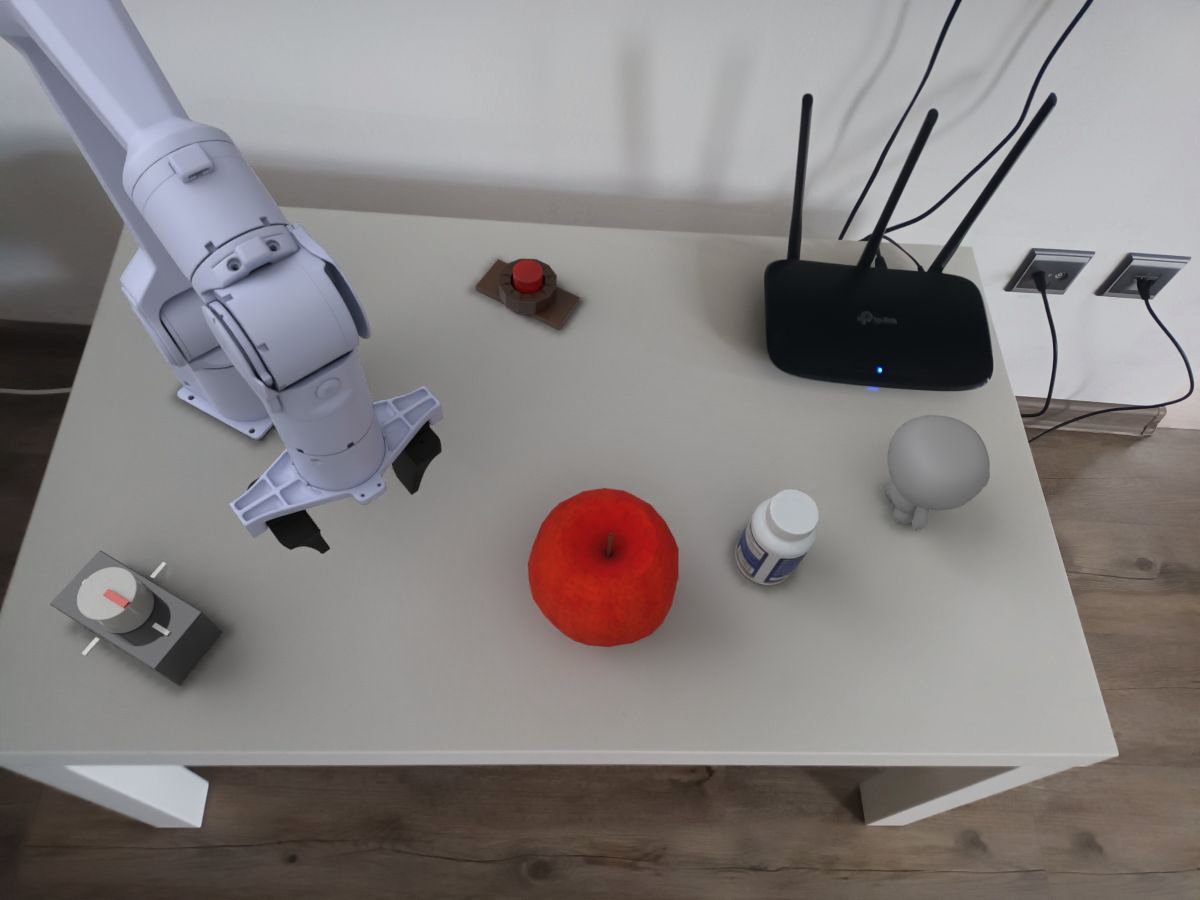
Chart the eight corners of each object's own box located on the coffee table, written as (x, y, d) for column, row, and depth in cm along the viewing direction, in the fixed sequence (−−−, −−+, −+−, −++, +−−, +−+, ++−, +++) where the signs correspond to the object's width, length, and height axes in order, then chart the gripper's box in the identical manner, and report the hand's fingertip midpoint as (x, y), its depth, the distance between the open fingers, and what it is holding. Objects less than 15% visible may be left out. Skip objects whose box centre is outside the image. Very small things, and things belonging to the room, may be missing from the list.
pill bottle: (799, 541, 73) (834, 493, 65) (786, 595, 71) (821, 552, 62) (741, 522, 74) (769, 471, 66) (727, 574, 71) (753, 528, 63)
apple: (681, 655, 67) (713, 601, 56) (542, 685, 65) (546, 635, 54) (645, 527, 73) (668, 454, 61) (516, 551, 71) (514, 480, 59)
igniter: (471, 295, 85) (470, 278, 83) (501, 259, 87) (501, 242, 85) (555, 335, 83) (556, 319, 81) (583, 297, 86) (584, 281, 84)
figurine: (947, 544, 75) (1016, 483, 64) (869, 550, 74) (926, 490, 63) (920, 467, 78) (980, 398, 68) (845, 472, 78) (895, 404, 67)
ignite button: (507, 286, 83) (507, 274, 81) (522, 267, 84) (522, 255, 83) (532, 298, 82) (533, 286, 81) (547, 279, 84) (548, 267, 82)
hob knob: (84, 617, 60) (61, 601, 57) (125, 573, 62) (104, 555, 59) (126, 643, 60) (105, 628, 57) (166, 598, 61) (147, 581, 58)
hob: (65, 641, 64) (30, 621, 60) (141, 557, 68) (114, 532, 64) (164, 705, 62) (136, 688, 58) (237, 615, 66) (216, 593, 62)
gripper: (248, 532, 45) (306, 611, 57) (463, 397, 50) (475, 495, 62) (186, 445, 47) (254, 538, 59) (398, 325, 53) (421, 432, 64)
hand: (364, 512), depth 61 cm, fingers open, 7 cm apart
